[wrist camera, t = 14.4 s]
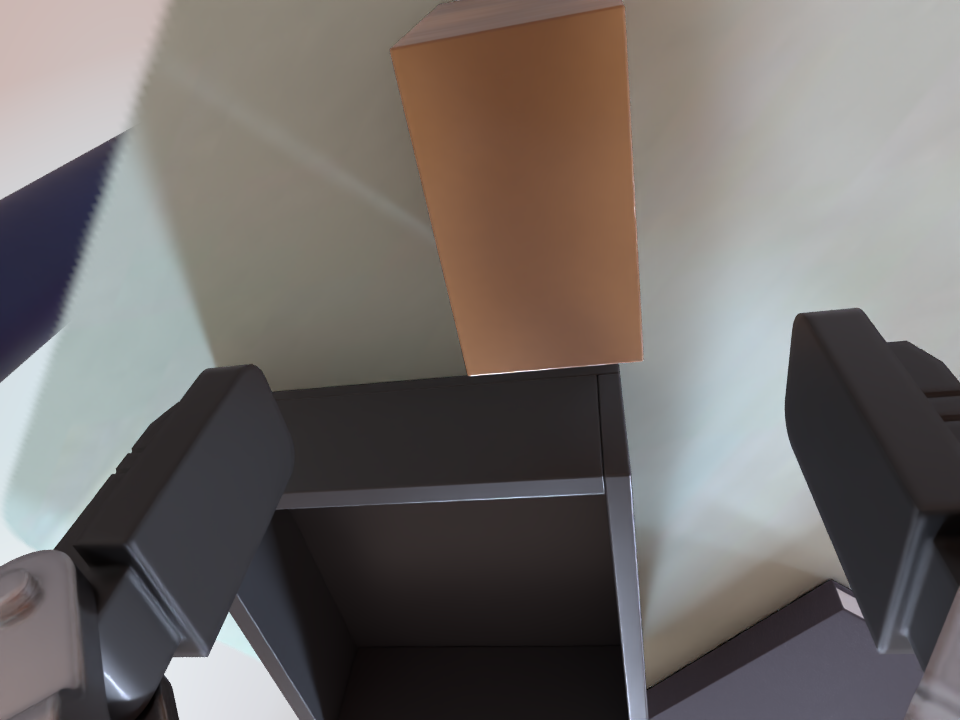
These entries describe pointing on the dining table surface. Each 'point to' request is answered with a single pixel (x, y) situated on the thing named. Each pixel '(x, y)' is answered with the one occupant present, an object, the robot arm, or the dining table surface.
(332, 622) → the bin
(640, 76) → the dining table surface
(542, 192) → the package
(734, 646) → the notebook
